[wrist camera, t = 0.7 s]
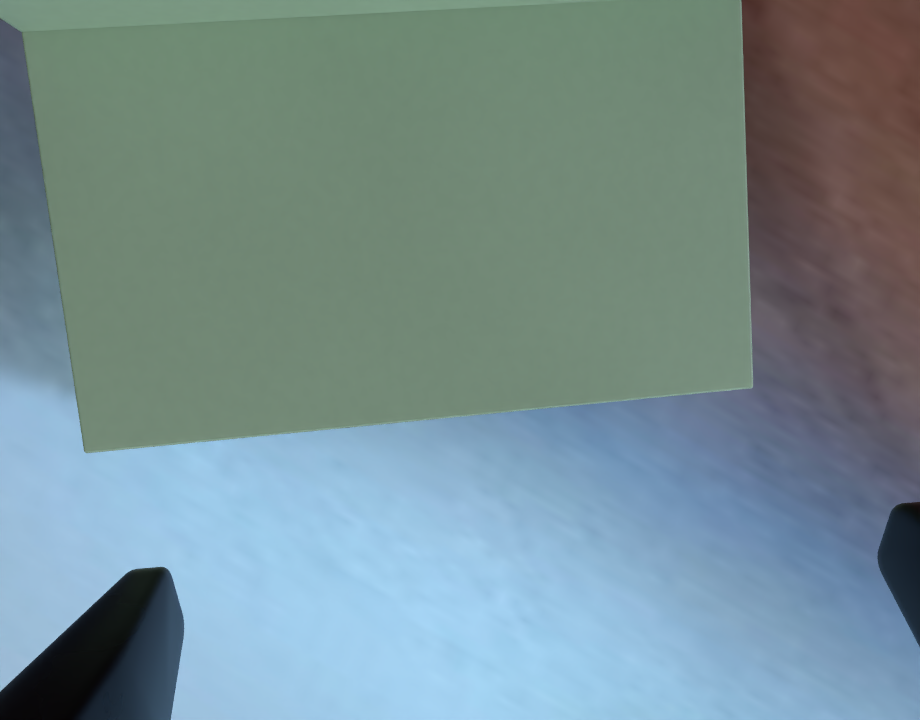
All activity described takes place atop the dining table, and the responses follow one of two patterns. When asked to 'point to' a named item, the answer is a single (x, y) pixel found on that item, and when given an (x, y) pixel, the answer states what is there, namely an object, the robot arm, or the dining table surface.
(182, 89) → the mint green bench
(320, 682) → the dining table surface
